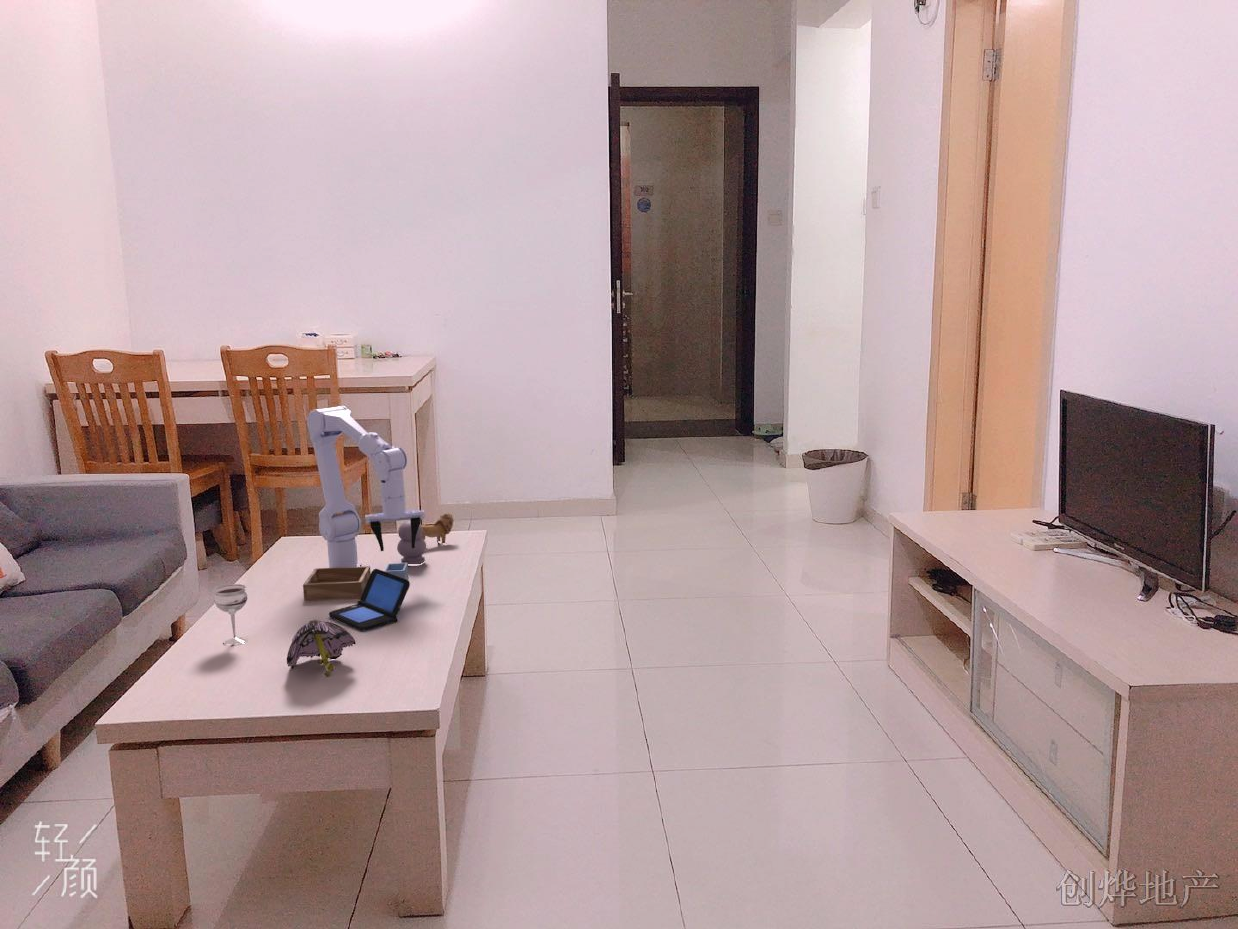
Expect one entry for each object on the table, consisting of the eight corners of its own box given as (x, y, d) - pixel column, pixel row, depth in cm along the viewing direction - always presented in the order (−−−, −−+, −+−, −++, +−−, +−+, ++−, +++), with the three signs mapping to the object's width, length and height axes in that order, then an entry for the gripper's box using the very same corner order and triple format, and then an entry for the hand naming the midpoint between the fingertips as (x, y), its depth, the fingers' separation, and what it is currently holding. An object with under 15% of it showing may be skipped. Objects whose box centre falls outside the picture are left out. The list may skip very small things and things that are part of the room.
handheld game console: (326, 618, 237) (323, 580, 235) (376, 604, 246) (374, 567, 245) (363, 634, 226) (360, 593, 225) (413, 618, 236) (411, 580, 234)
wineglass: (218, 639, 224) (213, 586, 222) (251, 634, 227) (246, 582, 224) (218, 649, 218) (213, 595, 216) (252, 644, 220) (247, 591, 218)
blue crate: (389, 580, 265) (387, 563, 264) (408, 579, 266) (407, 562, 265) (385, 588, 258) (384, 571, 257) (405, 587, 259) (404, 570, 258)
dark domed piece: (352, 607, 213) (338, 609, 198) (370, 660, 212) (356, 667, 197) (284, 630, 212) (265, 635, 197) (302, 684, 211) (283, 692, 196)
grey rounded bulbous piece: (396, 560, 283) (394, 518, 280) (425, 557, 285) (422, 516, 283) (399, 569, 275) (396, 525, 272) (429, 565, 277) (426, 523, 275)
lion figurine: (449, 540, 304) (447, 510, 302) (458, 543, 299) (456, 513, 298) (404, 549, 294) (402, 519, 293) (413, 553, 290) (411, 522, 289)
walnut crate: (316, 583, 263) (314, 568, 262) (371, 581, 264) (370, 566, 264) (304, 600, 249) (302, 584, 249) (362, 597, 251) (361, 582, 250)
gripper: (363, 501, 251) (367, 555, 253) (423, 496, 254) (427, 549, 256) (364, 496, 258) (368, 548, 260) (422, 491, 260) (426, 543, 263)
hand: (397, 548), depth 258 cm, fingers open, 7 cm apart
